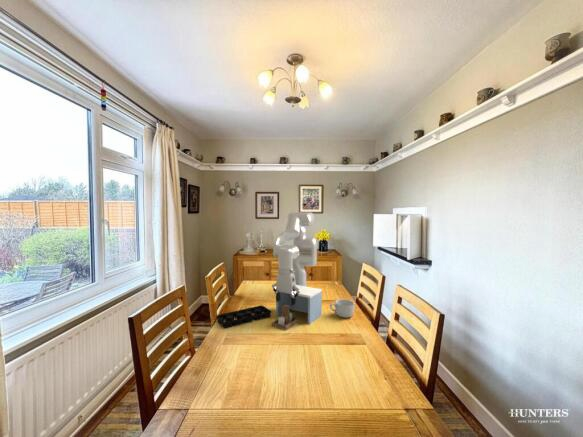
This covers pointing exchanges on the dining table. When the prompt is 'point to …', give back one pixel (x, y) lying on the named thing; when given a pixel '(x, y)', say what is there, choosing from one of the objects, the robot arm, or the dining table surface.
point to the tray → (285, 319)
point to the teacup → (343, 308)
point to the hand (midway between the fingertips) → (285, 302)
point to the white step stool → (303, 302)
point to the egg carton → (243, 316)
